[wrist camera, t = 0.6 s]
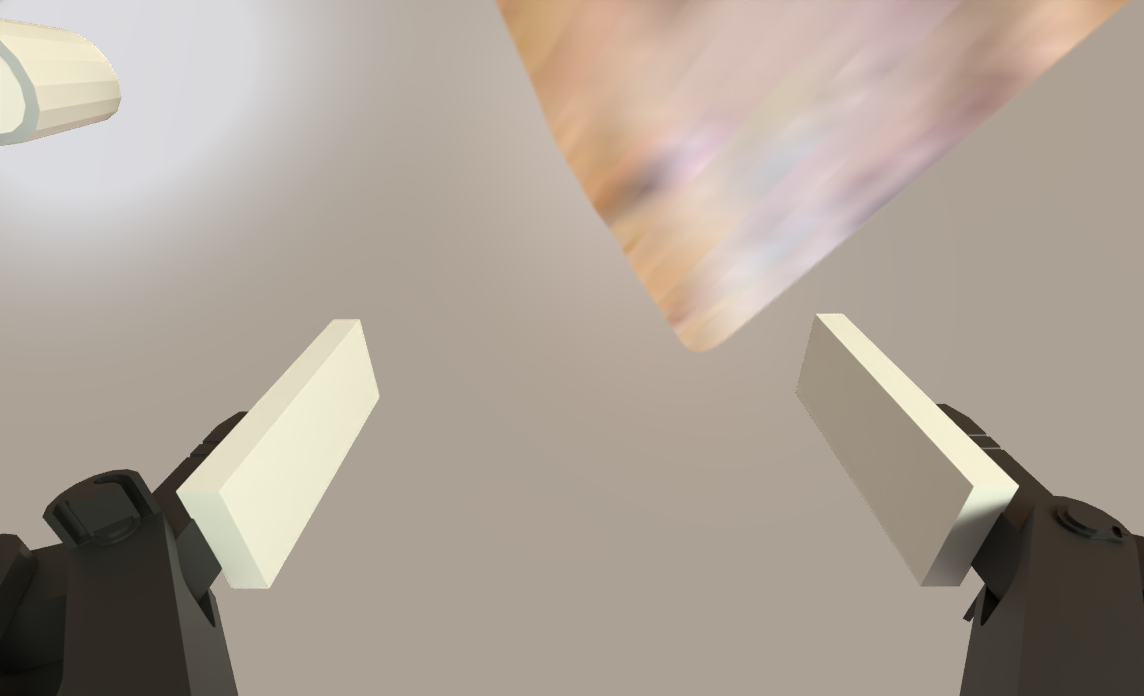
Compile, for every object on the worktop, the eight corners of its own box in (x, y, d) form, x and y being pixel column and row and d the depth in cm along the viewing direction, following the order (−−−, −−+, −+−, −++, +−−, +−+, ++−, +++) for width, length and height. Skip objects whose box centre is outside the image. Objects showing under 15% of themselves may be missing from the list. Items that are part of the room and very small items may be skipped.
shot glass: (21, 101, 35) (-95, 110, 29) (16, -6, 32) (-115, -20, 26) (128, 148, 37) (39, 166, 31) (133, 50, 34) (35, 49, 27)
